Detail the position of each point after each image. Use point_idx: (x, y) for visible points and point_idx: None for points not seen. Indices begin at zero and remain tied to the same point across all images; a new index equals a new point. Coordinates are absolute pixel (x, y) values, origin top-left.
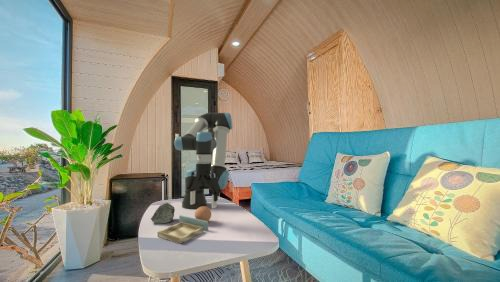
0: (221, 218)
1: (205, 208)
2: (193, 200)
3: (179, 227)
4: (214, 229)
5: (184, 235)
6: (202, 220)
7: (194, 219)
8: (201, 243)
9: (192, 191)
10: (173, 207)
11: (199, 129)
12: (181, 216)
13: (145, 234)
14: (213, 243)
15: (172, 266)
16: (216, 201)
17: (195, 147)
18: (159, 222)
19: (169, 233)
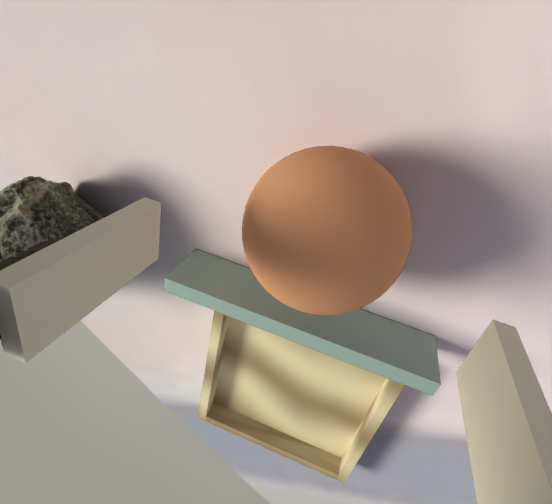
0: (503, 40)
1: (351, 296)
2: (132, 249)
3: (237, 324)
4: (482, 319)
5: (324, 410)
6: (382, 366)
7: (309, 346)
8: (447, 466)
9: (20, 345)
10: (35, 235)
11: None
12: (184, 297)
13: (148, 379)
14: None
15: None
16: (541, 390)
17: None
18: None
19: (239, 389)
